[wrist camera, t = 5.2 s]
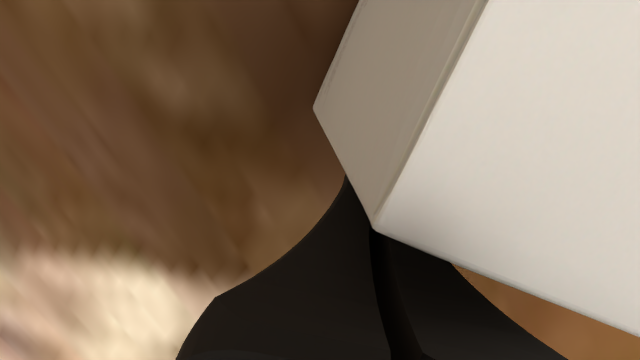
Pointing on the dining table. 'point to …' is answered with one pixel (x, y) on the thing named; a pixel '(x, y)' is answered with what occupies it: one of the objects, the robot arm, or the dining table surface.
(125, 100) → the dining table surface
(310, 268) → the robot arm
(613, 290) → the supplement box
